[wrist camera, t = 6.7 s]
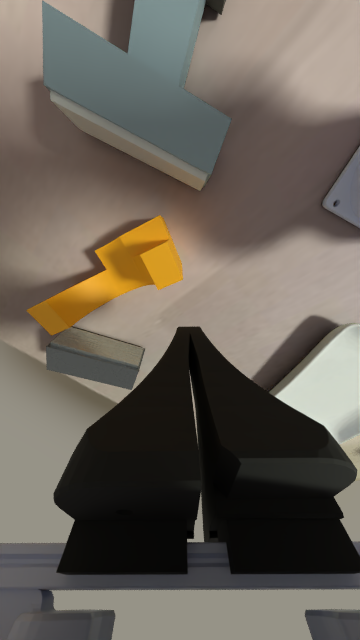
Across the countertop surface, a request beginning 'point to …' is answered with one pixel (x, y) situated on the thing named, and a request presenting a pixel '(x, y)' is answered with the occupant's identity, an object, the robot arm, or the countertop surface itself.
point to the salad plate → (328, 383)
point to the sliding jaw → (138, 87)
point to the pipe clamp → (115, 275)
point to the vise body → (94, 358)
